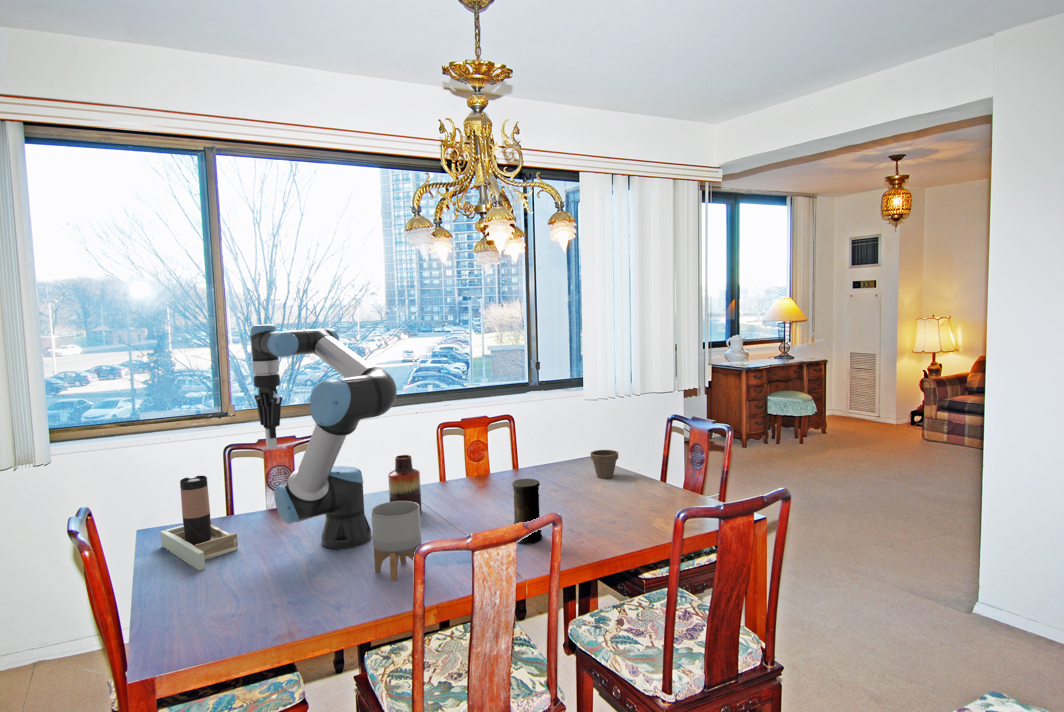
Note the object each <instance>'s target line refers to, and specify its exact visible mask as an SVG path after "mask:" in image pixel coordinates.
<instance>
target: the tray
mask: <svg viewBox="0 0 1064 712" xmlns="http://www.w3.org/2000/svg"><path fill="white" fill-rule="evenodd" d="M173 535H175V536H177V537H179V538H180V539H182V540H184V541H185V533H184V531H181V532H178V533H174V534H173ZM186 542H187V541H186ZM187 543H189V542H187ZM189 544H191V543H189ZM191 545H192V544H191ZM193 546H194V547H196V548H198V549H199V550H201V551H203V552H204V560H208V559H209V560H210V559H212V558H216V557H219V556H221V555H222V556H223V555H224V554H228V553H232V552H235V551H237V550H239V547H238V546H239V545H238V533H237V532H234V533H229V532H227V531H225V530H224V529H222V528H219V527H217V526H216V525H213V524H212V525H211V540H210V541H206V542H203V543H199V544H196V545H193Z"/></svg>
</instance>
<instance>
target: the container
mask: <svg viewBox="0 0 1064 712" xmlns="http://www.w3.org/2000/svg"><path fill="white" fill-rule="evenodd" d="M540 485H541V484H540V481H539V480H537V479H535V478H519V479H516V480H514V481H512V485H511V486H512V488H513V507H514V508H513V509H514V513H513V514H514V515H513V517H514V520H513V525H514V524H516V523H519V522H527V521H531V520H533V519H536V518H538V517H539V518H540V493H539V492H540V491H539V489H540ZM542 532H543V531H542V529H541V530H538V531H537V532H534V533H532V534H531V535H529V536H528V537H526V538H524V539H522V540H521V541H520V542H519V543H518V544H521V543H522V545H527V544H526V543H533V544H536V543H535V542H537V543H539V542H541V541H542V539H543V534H542ZM538 541H539V542H538ZM523 543H524V544H523Z"/></svg>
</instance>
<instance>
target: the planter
mask: <svg viewBox="0 0 1064 712" xmlns="http://www.w3.org/2000/svg"><path fill="white" fill-rule="evenodd" d="M371 524H372V526H371V527H372V529H371V530H372V543H373V545H372V546H373V560H374V573H380V572H381V571H382V564H383V562H384V561H385V560H386V559H387V558H389V567H390V568H389V571H390V582H397V580H398V572H399V571H398V568H399V567H398V566H399V563H400V562H407V558H408V559H410V560H411V561H413V557H414V552H415V550H416V548H417V547H418V546H420V545H421V544H422V529H421V528H422V527H421V514H420V506H419V504H417V503H415V502H411V501H393V502H390V501H387V502H384V503H380V504H378V505H376V506H374V507H373V508H372V509H371Z"/></svg>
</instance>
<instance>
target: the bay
mask: <svg viewBox="0 0 1064 712" xmlns="http://www.w3.org/2000/svg"><path fill="white" fill-rule="evenodd" d="M210 523H211V525H213V519H212V518H211V517H210ZM181 531H184V525H183V524H182V525H180V526H175V527H172V528H168V529H167V528H166V529H164V530H161V531H159V532H160V533H159V534H160V543H161V545H160V546H161V548H163V547H164V548H166V549H167V550H166V549H165V550H166V551H168V550H169V551H170V552H169V551H168V552H169V553H171V552H172V553H173V555H174V554H175V555H176V556H175V555H174V556H175V557H177V556H178V557H177V558H179V559H180V558H181V559H180V560H182V561H183V560H184V562H185V563H187V564H189V565H190V566H191V567H193V568H194V569H197V570H198V571H199V572H201V571H203V570H206V564H205V563H206V561H205V560H204V552H203V551H201V550H199V549H198V548H196V547H194V546H193V545H191V544H189V543H187V542H186V541H184V540H182V539H180V538H179V537H177V536H175V535H173V534H174V533H178V532H181ZM164 548H163V549H164ZM172 553H171V554H172Z"/></svg>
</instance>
